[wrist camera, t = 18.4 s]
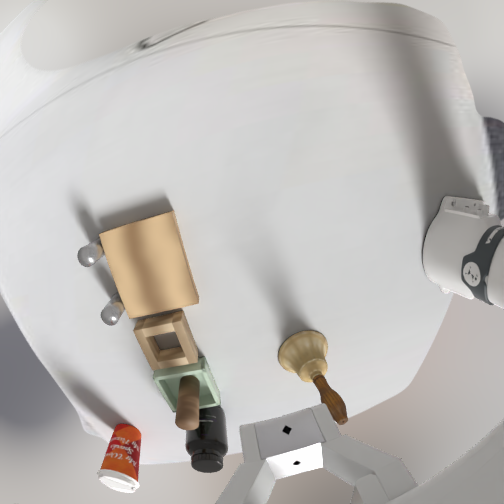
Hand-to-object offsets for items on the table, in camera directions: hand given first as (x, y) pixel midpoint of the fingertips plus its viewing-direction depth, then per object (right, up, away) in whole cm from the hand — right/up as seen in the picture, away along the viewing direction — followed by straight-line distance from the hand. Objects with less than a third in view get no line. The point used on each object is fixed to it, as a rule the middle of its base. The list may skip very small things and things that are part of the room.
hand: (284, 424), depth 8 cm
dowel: (-11, -15, +31) cm, 36 cm away
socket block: (-13, -6, +29) cm, 32 cm away
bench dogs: (-20, +3, +25) cm, 33 cm away
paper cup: (-26, -30, +34) cm, 52 cm away
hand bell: (+7, -10, +33) cm, 35 cm away
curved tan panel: (-14, +4, +27) cm, 31 cm away
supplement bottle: (-9, -23, +34) cm, 42 cm away
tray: (-11, -15, +31) cm, 36 cm away
